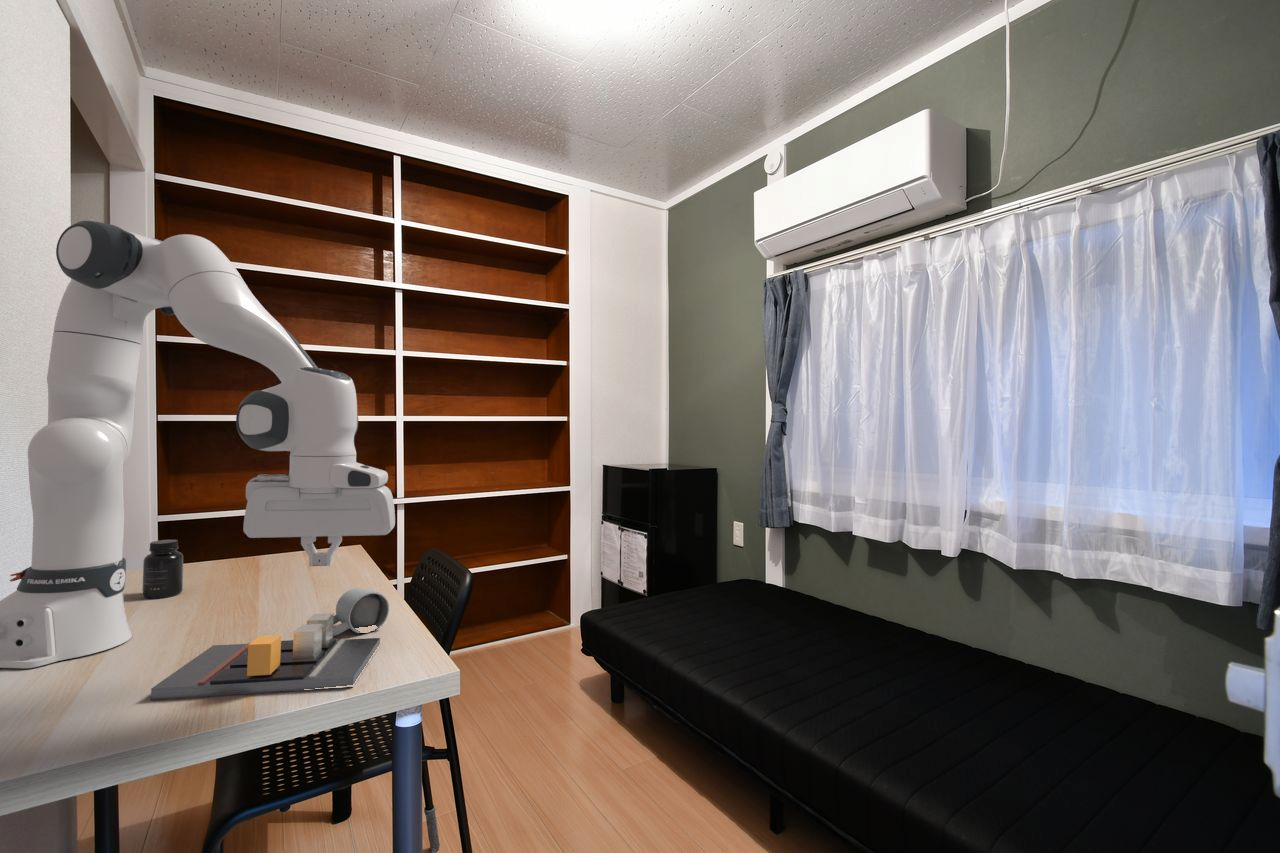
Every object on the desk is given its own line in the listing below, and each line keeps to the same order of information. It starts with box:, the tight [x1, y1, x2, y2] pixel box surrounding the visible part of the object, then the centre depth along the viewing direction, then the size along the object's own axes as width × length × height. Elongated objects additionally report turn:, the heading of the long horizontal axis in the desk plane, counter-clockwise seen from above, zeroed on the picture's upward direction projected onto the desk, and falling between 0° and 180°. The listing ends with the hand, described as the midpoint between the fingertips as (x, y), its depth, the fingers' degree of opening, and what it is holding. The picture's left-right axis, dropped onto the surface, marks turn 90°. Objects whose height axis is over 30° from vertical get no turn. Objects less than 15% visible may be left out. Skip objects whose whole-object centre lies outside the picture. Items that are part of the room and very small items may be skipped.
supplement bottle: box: [142, 539, 184, 600], centre depth 124 cm, size 7×7×12 cm
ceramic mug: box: [333, 587, 390, 637], centre depth 106 cm, size 11×8×8 cm
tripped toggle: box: [247, 634, 282, 676], centre depth 83 cm, size 3×4×4 cm
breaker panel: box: [150, 612, 381, 701], centre depth 88 cm, size 26×16×6 cm, turn 102°
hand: (321, 565), depth 85 cm, fingers closed
